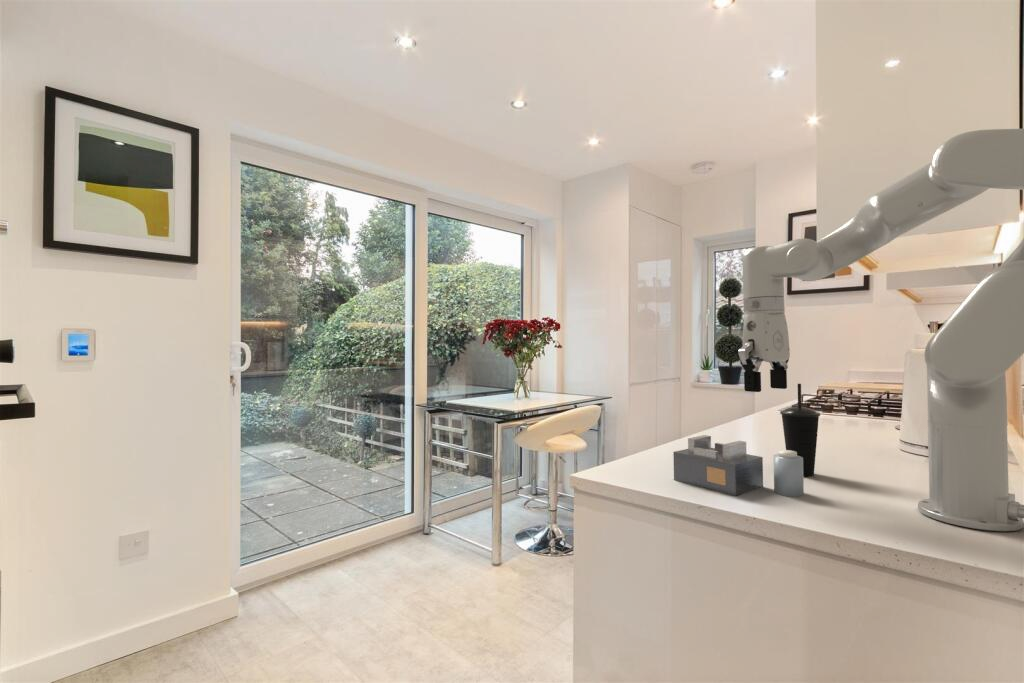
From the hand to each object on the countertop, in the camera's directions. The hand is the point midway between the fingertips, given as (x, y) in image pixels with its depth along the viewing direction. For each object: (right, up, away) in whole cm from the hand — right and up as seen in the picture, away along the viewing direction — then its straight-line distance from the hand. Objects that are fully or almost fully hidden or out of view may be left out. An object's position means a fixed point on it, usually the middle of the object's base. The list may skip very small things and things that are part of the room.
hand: (766, 389), depth 99 cm
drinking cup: (+12, -20, +8) cm, 24 cm away
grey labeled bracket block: (-10, -20, +1) cm, 22 cm away
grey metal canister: (+1, -20, -6) cm, 20 cm away
